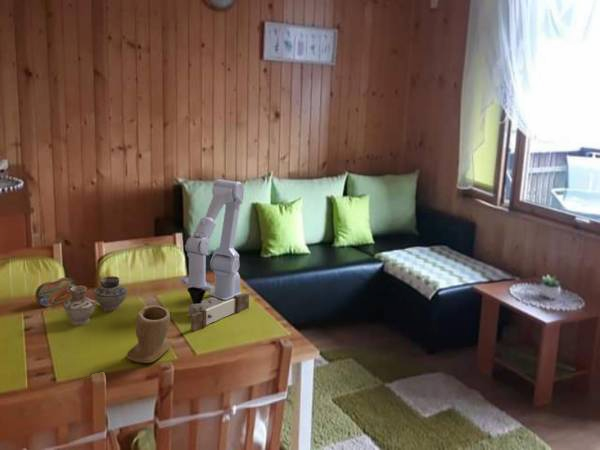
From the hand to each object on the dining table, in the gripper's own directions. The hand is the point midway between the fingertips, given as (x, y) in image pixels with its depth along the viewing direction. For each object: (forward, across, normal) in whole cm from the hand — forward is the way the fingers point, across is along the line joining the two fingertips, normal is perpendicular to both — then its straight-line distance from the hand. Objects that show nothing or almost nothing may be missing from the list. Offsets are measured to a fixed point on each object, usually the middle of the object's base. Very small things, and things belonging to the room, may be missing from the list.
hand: (197, 306), depth 211 cm
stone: (+2, +5, 0) cm, 6 cm away
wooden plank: (+1, +11, 0) cm, 11 cm away
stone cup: (+2, +14, -32) cm, 35 cm away
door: (+1, +12, 0) cm, 12 cm away
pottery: (+2, -23, -25) cm, 34 cm away
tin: (+2, -42, -28) cm, 50 cm away
